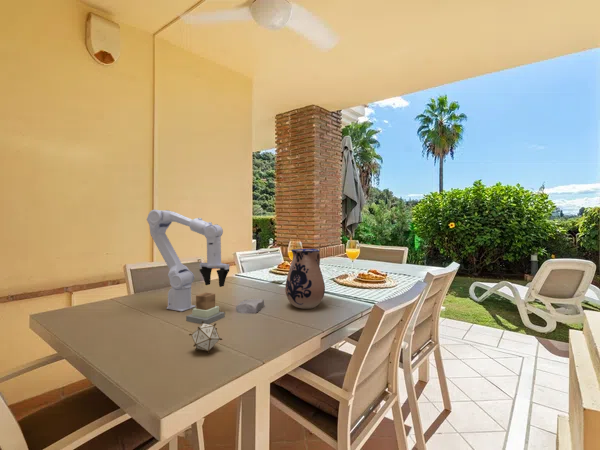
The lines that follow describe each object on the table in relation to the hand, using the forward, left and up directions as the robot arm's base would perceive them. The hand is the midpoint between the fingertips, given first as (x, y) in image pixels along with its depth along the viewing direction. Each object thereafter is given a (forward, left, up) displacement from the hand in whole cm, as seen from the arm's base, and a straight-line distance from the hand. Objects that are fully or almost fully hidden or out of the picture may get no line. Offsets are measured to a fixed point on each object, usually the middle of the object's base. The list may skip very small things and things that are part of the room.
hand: (214, 285), depth 126 cm
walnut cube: (+5, -10, -6) cm, 13 cm away
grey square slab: (+5, -10, -11) cm, 16 cm away
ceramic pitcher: (+32, +24, -11) cm, 41 cm away
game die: (+25, -31, -11) cm, 41 cm away
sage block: (+5, -10, -9) cm, 14 cm away
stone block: (+12, +8, -11) cm, 18 cm away
